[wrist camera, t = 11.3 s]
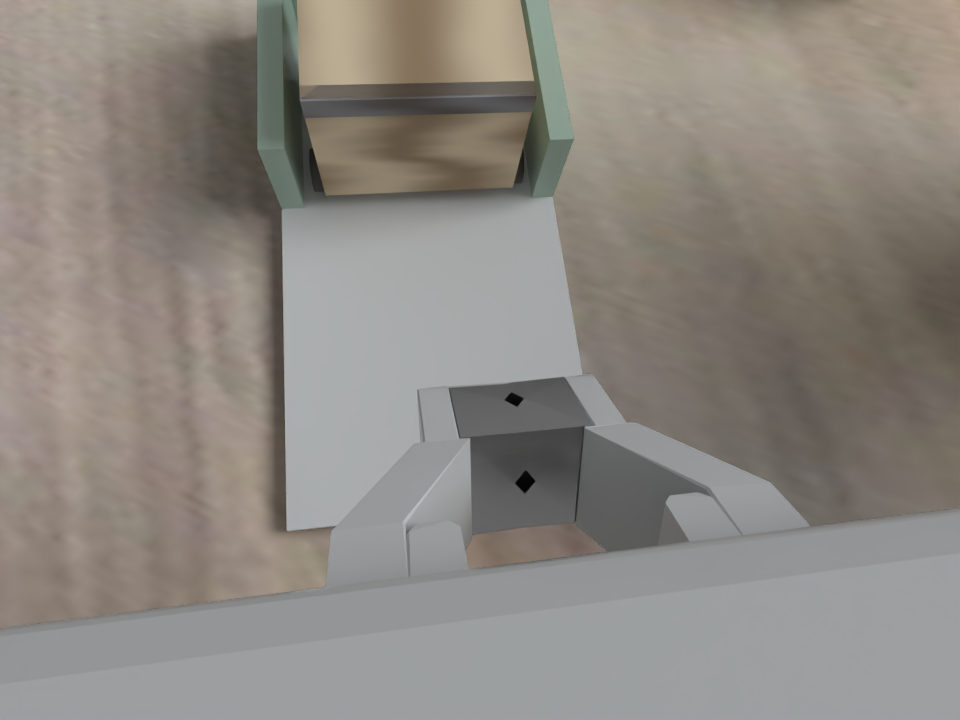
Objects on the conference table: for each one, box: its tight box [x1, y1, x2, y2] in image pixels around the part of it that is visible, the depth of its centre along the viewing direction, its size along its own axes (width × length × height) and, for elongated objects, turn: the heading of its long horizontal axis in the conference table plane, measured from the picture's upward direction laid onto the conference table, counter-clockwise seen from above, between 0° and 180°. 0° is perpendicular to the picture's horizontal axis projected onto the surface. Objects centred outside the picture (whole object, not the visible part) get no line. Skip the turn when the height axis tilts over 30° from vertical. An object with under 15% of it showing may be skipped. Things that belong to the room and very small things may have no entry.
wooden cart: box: [297, 0, 537, 196], centre depth 30 cm, size 11×9×8 cm
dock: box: [257, 0, 583, 532], centre depth 30 cm, size 15×30×6 cm, turn 6°
